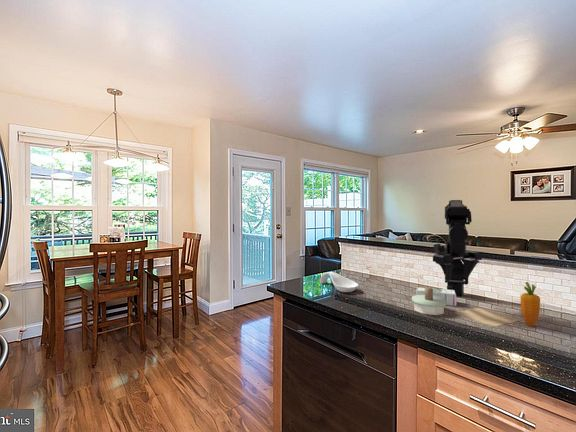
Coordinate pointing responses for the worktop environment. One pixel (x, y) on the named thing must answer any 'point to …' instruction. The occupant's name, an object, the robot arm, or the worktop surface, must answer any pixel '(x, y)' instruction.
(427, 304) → the lid
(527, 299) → the carrot
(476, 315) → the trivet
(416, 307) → the bowl
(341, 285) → the spoon rest
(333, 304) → the worktop surface
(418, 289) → the syrup box
